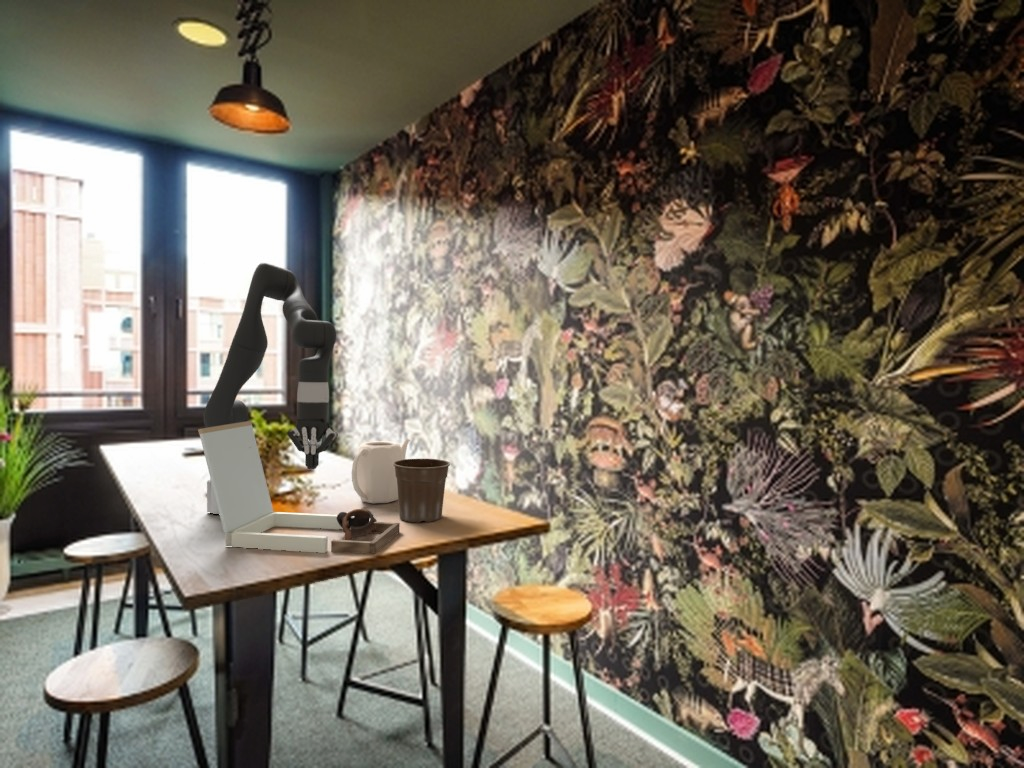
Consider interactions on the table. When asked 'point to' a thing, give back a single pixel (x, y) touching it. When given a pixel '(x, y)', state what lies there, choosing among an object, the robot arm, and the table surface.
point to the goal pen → (366, 546)
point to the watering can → (377, 470)
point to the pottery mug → (356, 523)
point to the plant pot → (421, 488)
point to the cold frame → (253, 495)
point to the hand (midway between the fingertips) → (312, 468)
